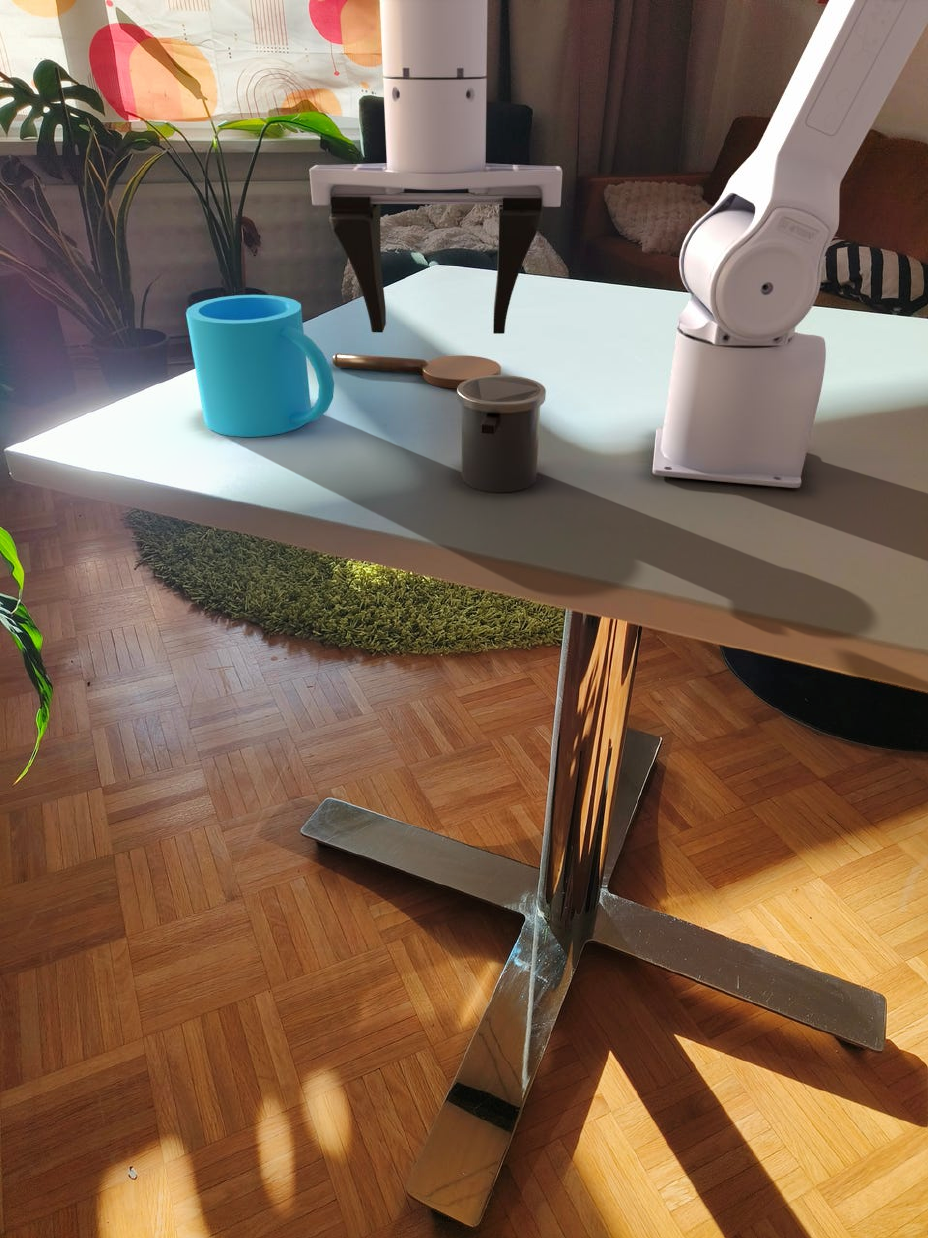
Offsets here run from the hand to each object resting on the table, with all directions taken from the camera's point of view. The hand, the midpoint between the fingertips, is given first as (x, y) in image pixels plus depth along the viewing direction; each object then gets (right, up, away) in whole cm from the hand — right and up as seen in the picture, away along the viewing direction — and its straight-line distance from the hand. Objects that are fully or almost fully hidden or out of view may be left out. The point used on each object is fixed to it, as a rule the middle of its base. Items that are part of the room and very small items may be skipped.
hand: (438, 328), depth 55 cm
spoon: (-3, +3, +21) cm, 21 cm away
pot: (+4, -9, +3) cm, 10 cm away
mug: (-13, -4, +11) cm, 17 cm away
